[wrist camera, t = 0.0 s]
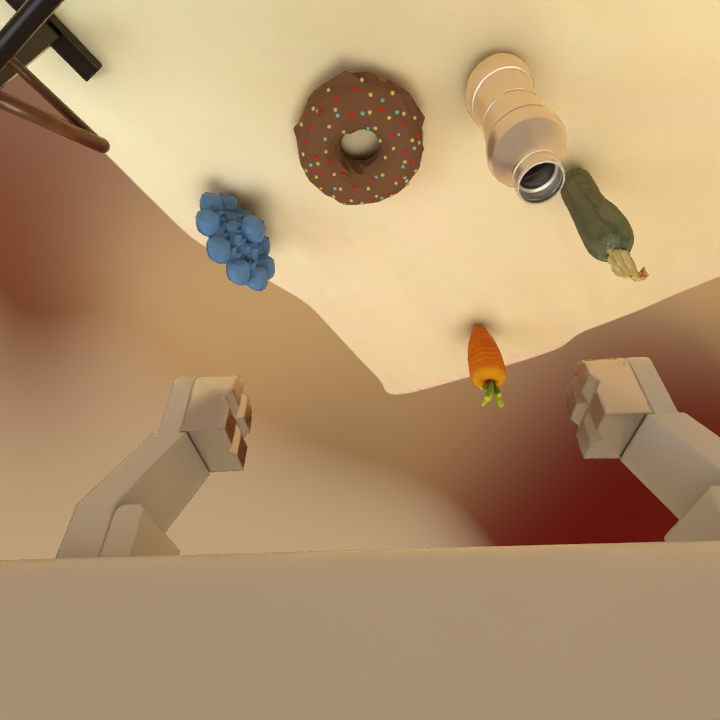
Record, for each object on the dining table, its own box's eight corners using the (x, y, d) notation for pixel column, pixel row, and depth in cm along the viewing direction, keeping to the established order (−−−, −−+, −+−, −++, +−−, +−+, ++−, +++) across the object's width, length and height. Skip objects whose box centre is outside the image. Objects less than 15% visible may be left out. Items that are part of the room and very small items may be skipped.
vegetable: (542, 179, 60) (595, 291, 47) (563, 145, 57) (625, 254, 44) (575, 189, 61) (635, 301, 48) (597, 155, 58) (668, 265, 45)
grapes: (302, 226, 65) (294, 288, 57) (264, 253, 68) (252, 315, 60) (233, 156, 58) (213, 215, 50) (194, 189, 61) (170, 250, 53)
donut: (424, 182, 61) (428, 205, 57) (311, 195, 62) (308, 219, 59) (420, 49, 50) (424, 67, 47) (283, 67, 51) (278, 87, 48)
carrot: (495, 332, 80) (515, 411, 70) (464, 339, 81) (478, 417, 71) (491, 310, 76) (511, 389, 66) (458, 318, 77) (472, 397, 67)
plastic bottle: (452, 108, 54) (483, 213, 41) (477, 37, 49) (521, 131, 36) (509, 121, 55) (557, 228, 42) (538, 53, 50) (603, 150, 37)
